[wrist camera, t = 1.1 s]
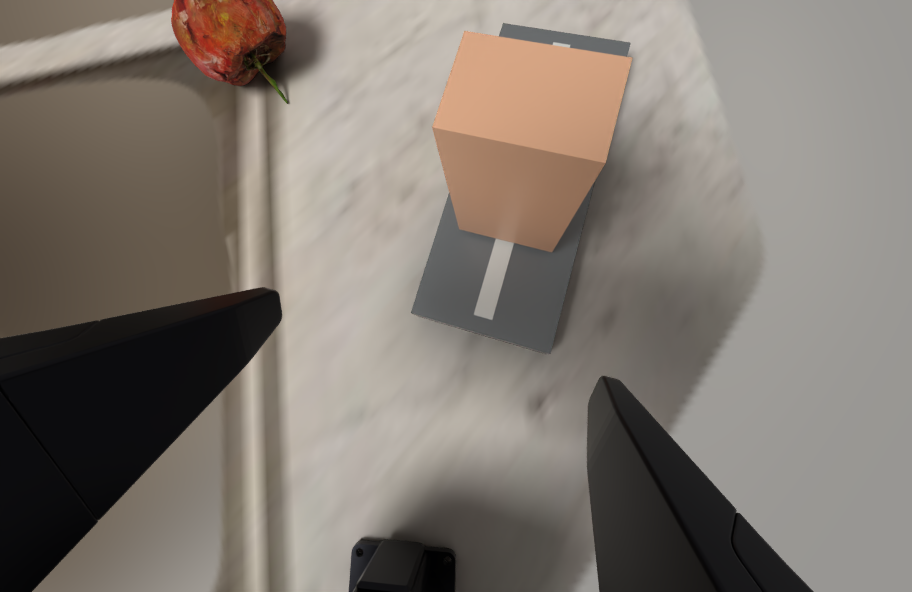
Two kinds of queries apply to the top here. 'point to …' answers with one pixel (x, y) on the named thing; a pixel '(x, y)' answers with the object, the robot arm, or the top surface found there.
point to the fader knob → (525, 134)
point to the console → (505, 256)
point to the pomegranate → (230, 37)
